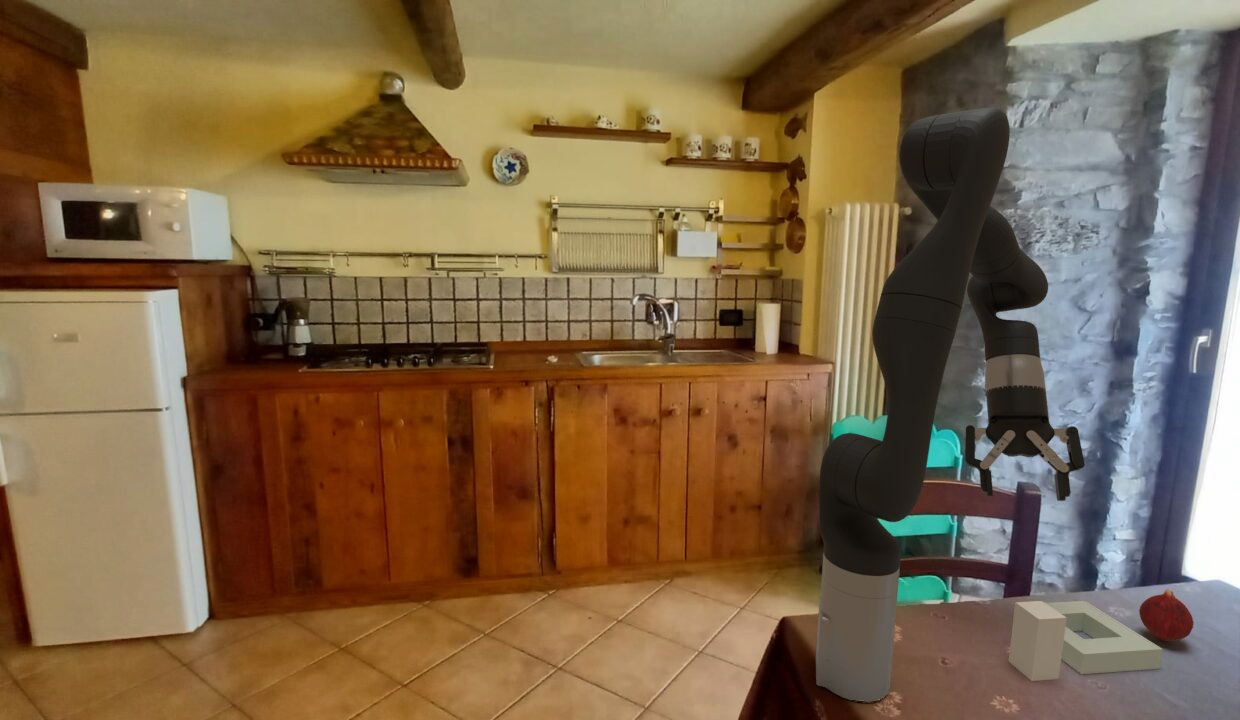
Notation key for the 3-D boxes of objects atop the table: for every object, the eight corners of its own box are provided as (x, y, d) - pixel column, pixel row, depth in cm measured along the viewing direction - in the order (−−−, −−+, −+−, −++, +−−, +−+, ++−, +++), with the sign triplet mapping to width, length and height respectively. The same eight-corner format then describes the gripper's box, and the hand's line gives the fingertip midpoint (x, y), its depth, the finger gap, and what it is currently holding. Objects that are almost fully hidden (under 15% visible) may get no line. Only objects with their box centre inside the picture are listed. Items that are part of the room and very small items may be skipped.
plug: (1031, 681, 77) (1039, 619, 76) (1008, 661, 81) (1015, 602, 80) (1058, 679, 78) (1066, 617, 76) (1034, 659, 82) (1041, 600, 80)
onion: (1200, 655, 83) (1208, 604, 82) (1153, 650, 84) (1161, 599, 83) (1170, 631, 89) (1178, 583, 87) (1127, 626, 90) (1134, 578, 89)
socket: (1081, 674, 79) (1083, 654, 78) (1013, 622, 91) (1014, 604, 90) (1159, 668, 80) (1162, 648, 80) (1082, 618, 92) (1084, 600, 91)
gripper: (961, 384, 88) (968, 493, 83) (1078, 382, 81) (1093, 500, 77) (959, 395, 94) (966, 497, 90) (1068, 394, 87) (1081, 503, 83)
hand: (1024, 498), depth 83 cm, fingers open, 8 cm apart
